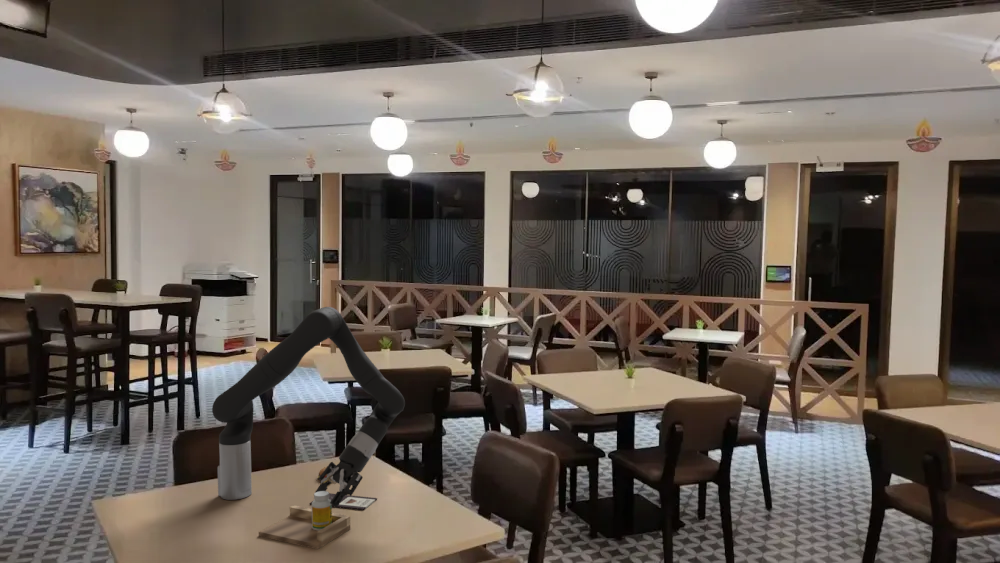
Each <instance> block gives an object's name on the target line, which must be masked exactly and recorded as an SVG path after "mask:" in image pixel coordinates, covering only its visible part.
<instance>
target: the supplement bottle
mask: <svg viewBox="0 0 1000 563" xmlns="http://www.w3.org/2000/svg"><path fill="white" fill-rule="evenodd" d="M315 492H316V491H315ZM315 492H314V493H315ZM314 493H313V500H312V501H313V502H312V501H311V502H312V505H311V509H312V528H313V529H314V530H316V531H319V530H321V529H323V528H325V527H326V526H328V525H330V524H332V513H333V512H332V511H333V507H332V505H331V504H330V502H331V500H330V499H328V498H329V493H330V492H329V491H327V490H326V491H319V492H316V493H315V494H314Z"/></svg>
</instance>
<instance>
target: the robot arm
mask: <svg viewBox="0 0 1000 563" xmlns="http://www.w3.org/2000/svg"><path fill="white" fill-rule="evenodd" d="M328 339H330V340H331V341H332V343H334V344H335V346H336V347H337V349H339V351H340V352H341V354H342V357H343V358H344V361H345V364H346V367H347V369H348V370H349V371H348V372H349V373H350V374H351V376H352V378H353V379H354V380H355V381H356V383H357V384H358V385H359V386H360V387H361V388H362V390H363V391H364V392H365V393H367V394H368V395H370V396H372V397H373V398H374V400H375V401H377V403H376V405H375V407H374V408H373V410H372V411H371V413H370V415H369V416H368V418H367V419H366V420H365V421H364V422H363V424H362V426H361V427H360V428H359V430H358V431H357V432H356V434H354V436H352V438H351V439H350V440H349V442H348V444H347V445H346V447H345V448H344V449H343V451H342V452H341V454H340V455H339V457H338V459H339V462H338V464H335V463H334V462H333V461H331V462H329V464H328V465H327V466H328V467H327V466H326V467H327V468H326V469H325V470H324V472H323V473H322V474H321V476H320V477H319V478H318V480H319V482H320V484H319V486H318V487H317V489H316V490H315V491H314V493H313V495H314V494H315V493H316V492H319V491H327V490H328V488H329V487H330V486H332V485H335V484H338V485H339V488H338V491H336V493H335V494H336V495H335V496H334V497H333V499H332V500H331V502H330V504H331V505H333V506H334V507H333V508H336V507H337V506H338V505H339V503H340V502H341V501H342V499H343V498H344V496H346V495H350V496H353V494H354V492H355V491H356V489H357V488H358V486H359V485H360V483H361V481H362V479H363V475H362V474H360V473H361V472H362V471H363V470H364V468H365V467H366V465H367V464H368V462H369V461H370V459H372V457H373V455H374V453H375V452H376V450H377V448H378V447H379V445H380V443H381V441H383V438H384V437H385V435H386V434H387V432H388V429H389V427H390V426H391V424H393V422H394V420H395V419H396V418H397V416H398V415H400V413H401V412H403V411H404V408H405V406H406V401H405V397H404V395H403V394H402V393H401V391H400V390H399V389H398V388H397V387H396V386H395V385H393V383H392V382H390V381H389V380H388V379H387V378H385V377H384V375H383V374H382V372H381V371H380V370H379V368H377V366H376V365H375V364H374V363H373V362H372V360H371V359H370V358H369V356H368V355H367V354H366V352H365V351H364V349H363V348H362V347H361V345H360V343H359V342H358V341H357V339H356V338H355V336H354V334H353V332H352V331H351V329H350V328H349V326H348V324H347V322H346V321H345V319H344V317H343V316H342V314H341V312H339V311H338V310H337V309H336V308H334V307H332V306H324V307H320V308H319V309H314V310H313V311H311V312H310V313H308V315H306V317H305V318H303V320H302V321H301V323H299V324H298V326H297V327H296V328H295V329H294V330H293V331H292V332H291V334H290V335H288V336H287V337H286V338H284V339H283V340H282V341H280V342H279V343H277V345H275V347H273V348H272V349H271V350H269V351H268V352H267V353H266V354H265V355H264V356H263V357H262V358H261V359H260V360H258V362H257V363H256V364H254V366H253V367H252V368H250V369H249V370H248V371H247V372H246V373H245V375H243V376H242V377H241V378H240V379H239V380H238V381H237V382H236V383H235V384H233V385H232V386H230V387H229V388H227V390H224V392H222V393H220V394H218V395H217V397H216V398H215V400H214V401H213V404H212V409H211V410H212V412H211V413H212V415H213V417H214V419H215V420H217V421H218V422H220V423H226V425H225V426H224V429H223V430H221V432H220V433H219V435H218V445H219V446H218V448H219V449H218V450H219V465H218V466H217V494H218V495H217V496H218V497H220V498H221V499H224V500H228V501H231V500H241V499H244V498H248V497H250V496H251V495H252V490H253V487H252V451H251V449H252V448H251V447H252V444H251V443H252V442H251V435H252V433H253V428H254V402H253V401H254V400H255V399H256V398H258V397H260V396H262V395H263V394H265V393H266V392H268V391H270V390H271V389H273V388H275V387H276V386H277V385H279V384H281V383H282V382H283V381H284V380H285V379H286V378H287V377H289V375H291V374H292V373H293V371H294V370H295V369H297V367H298V365H299V364H300V363H301V361H302V359H303V357H305V355H306V354H307V353H309V351H311V350H312V349H314V348H315V347H317V346H318V345H319V344H321V343H322V342H324V341H326V340H328ZM326 474H327V477H326V478H324V477H325V475H326ZM332 476H333V477H332Z"/></svg>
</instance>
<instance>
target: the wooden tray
mask: <svg viewBox="0 0 1000 563" xmlns="http://www.w3.org/2000/svg"><path fill="white" fill-rule="evenodd" d="M349 530H351V515H347V514H346V515H345V514H341V513H337V512H332V524H330V525H328V526H326V527H325V528H323V529H321V530H319V531H316V530H314V529H313V528H312V508H310V507H309V508H308V507H303V506H299V505H291V506H289V515H288V516H286V517H284V518H282V519H281V520H280V519H279V520H278V521H276V522H274V523H273V524H271V525H269V526H266V527H265V528H262V529H261V530H259V531H258V537H261V538H262V537H263V538H265V539H271V540H276V541H279V542H285V543H289V544H293V545H299V546H303V547H306V548H307V547H308V548H312V549H316V550H319V549H320V548H322V547H323V546H325V545H327V544H329V543H330V542H331V541H333V540H335V539H336V538H338V537H340V536H341V535H343V534H345V533H346V532H347V531H349Z"/></svg>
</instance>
